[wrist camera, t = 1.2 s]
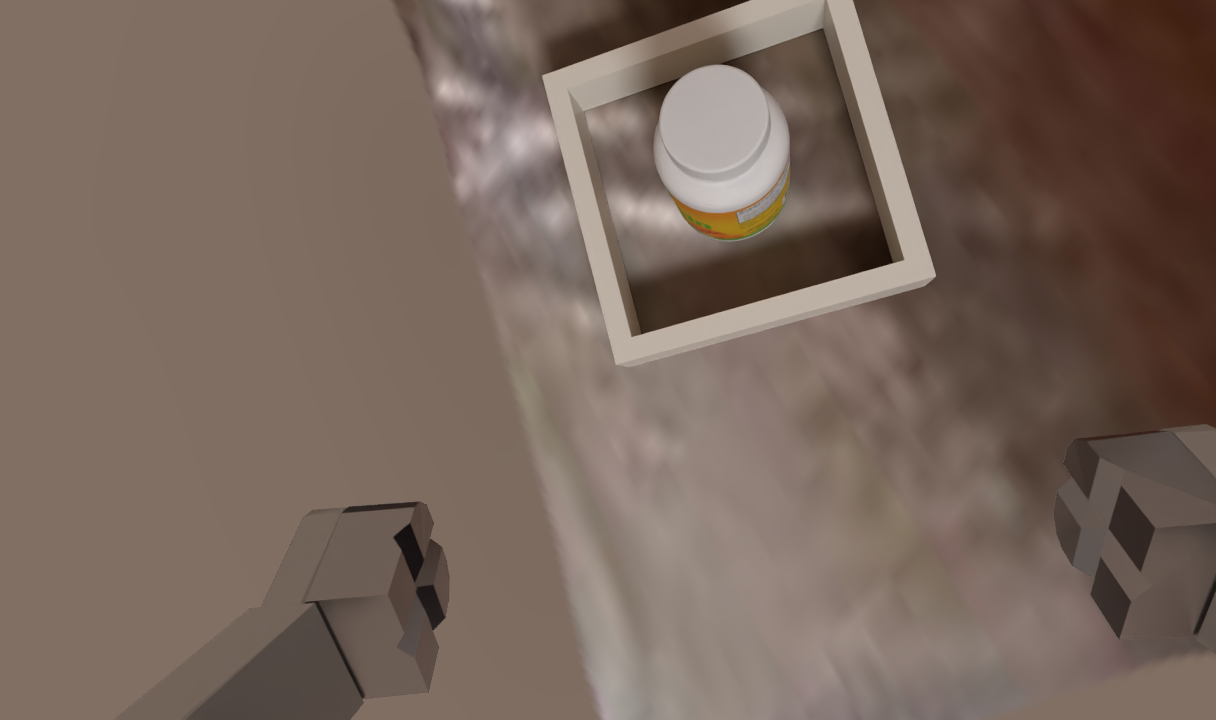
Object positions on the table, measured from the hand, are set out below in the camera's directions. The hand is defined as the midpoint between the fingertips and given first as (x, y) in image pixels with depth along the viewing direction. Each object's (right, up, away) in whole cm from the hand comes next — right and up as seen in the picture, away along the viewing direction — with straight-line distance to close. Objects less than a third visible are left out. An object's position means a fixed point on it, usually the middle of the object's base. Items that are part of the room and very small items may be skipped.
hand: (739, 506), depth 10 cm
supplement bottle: (+4, +10, +28) cm, 30 cm away
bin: (+4, +10, +28) cm, 30 cm away
